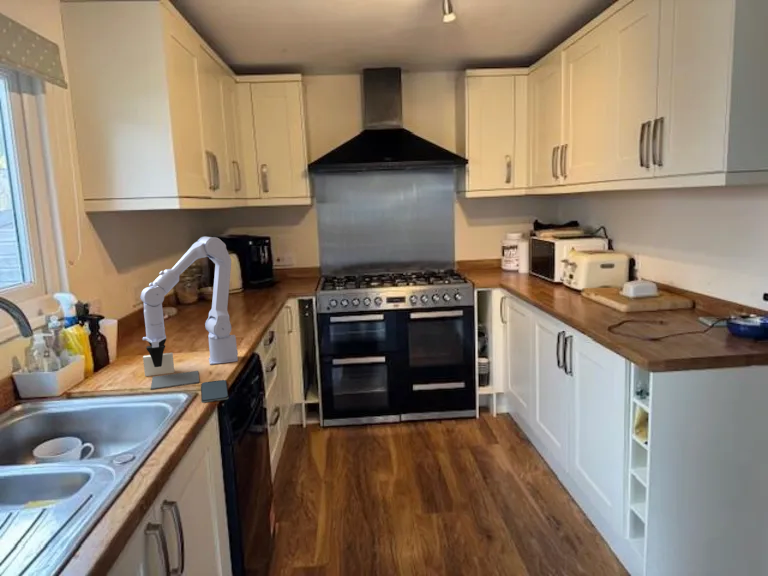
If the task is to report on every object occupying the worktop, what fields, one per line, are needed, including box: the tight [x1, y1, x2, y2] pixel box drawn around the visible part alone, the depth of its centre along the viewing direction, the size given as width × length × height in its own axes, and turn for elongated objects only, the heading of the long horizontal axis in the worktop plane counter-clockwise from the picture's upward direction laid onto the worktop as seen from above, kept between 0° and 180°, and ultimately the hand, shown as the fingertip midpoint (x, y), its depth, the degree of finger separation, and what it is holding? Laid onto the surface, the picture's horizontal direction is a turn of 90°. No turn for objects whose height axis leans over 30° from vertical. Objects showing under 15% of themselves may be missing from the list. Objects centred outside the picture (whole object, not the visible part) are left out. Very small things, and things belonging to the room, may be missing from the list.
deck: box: [142, 352, 175, 377], centre depth 178 cm, size 2×9×6 cm, turn 110°
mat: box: [150, 370, 200, 390], centre depth 171 cm, size 14×12×1 cm
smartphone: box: [200, 379, 230, 404], centre depth 159 cm, size 8×2×15 cm
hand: (158, 363), depth 178 cm, fingers open, 7 cm apart
